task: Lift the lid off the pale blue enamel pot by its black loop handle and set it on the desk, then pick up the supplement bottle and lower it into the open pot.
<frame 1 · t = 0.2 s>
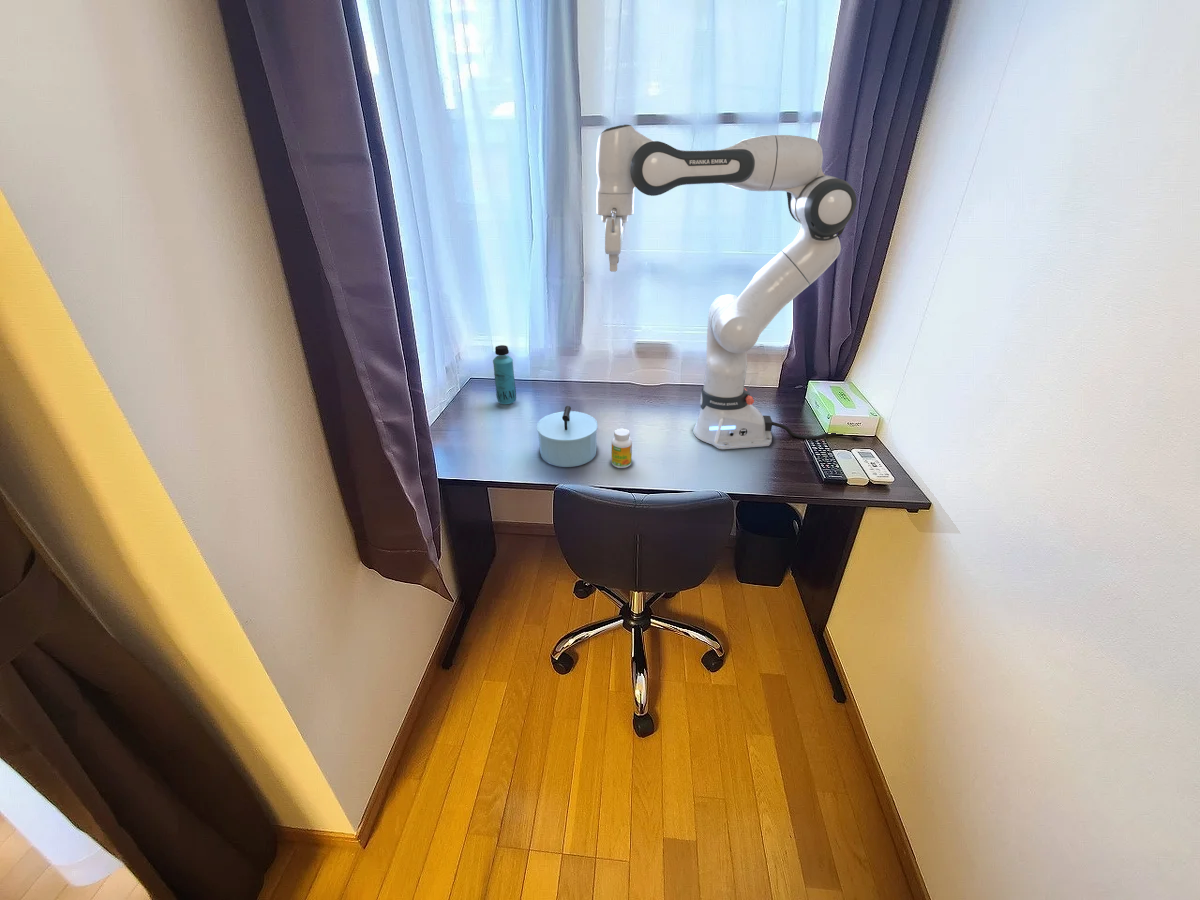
hand: (614, 267, 127), 47 cm above the table, tool pointing down, fingers open, 8 cm apart
lid: (567, 426, 137), point 8 cm above the table, touching pot
beverage bottle: (507, 404, 168), on the table
supplement bottle: (621, 463, 136), on the table
pot: (568, 451, 141), on the table
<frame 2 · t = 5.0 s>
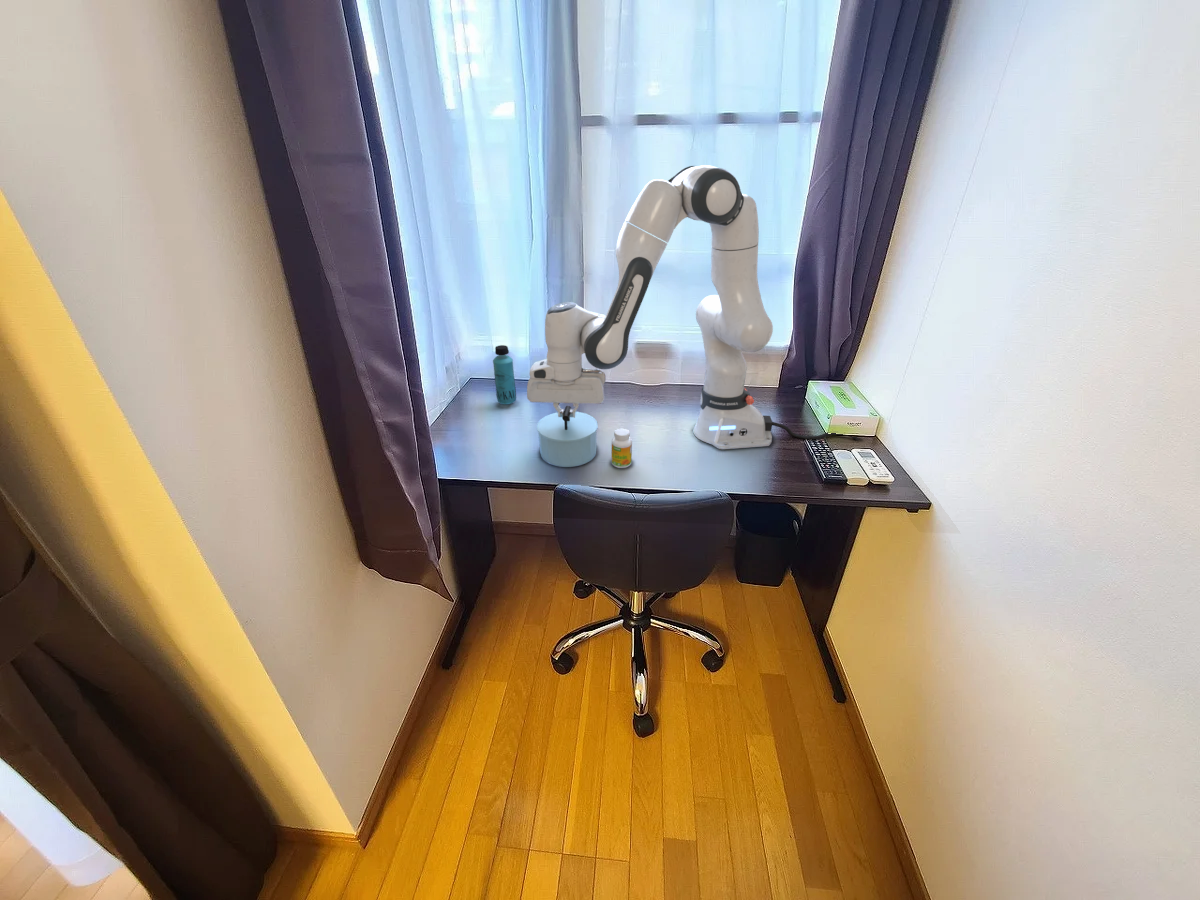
hand: (566, 416, 135), 11 cm above the table, tool pointing down, fingers closed on lid
lid: (567, 426, 137), point 8 cm above the table, touching gripper, pot
everything else where it was.
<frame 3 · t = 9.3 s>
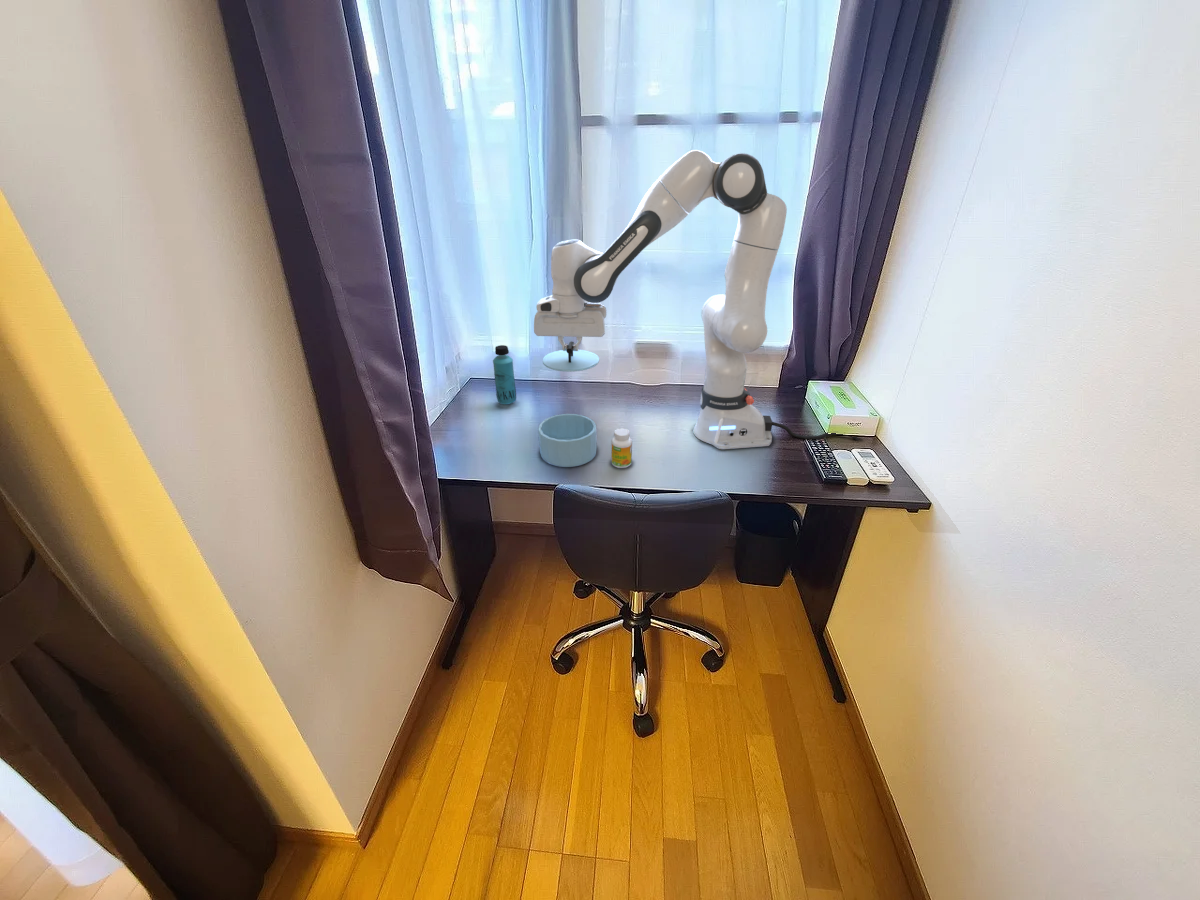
hand: (570, 350, 146), 22 cm above the table, tool pointing down, fingers closed on lid
lid: (571, 360, 148), point 19 cm above the table, touching gripper
everything else where it was.
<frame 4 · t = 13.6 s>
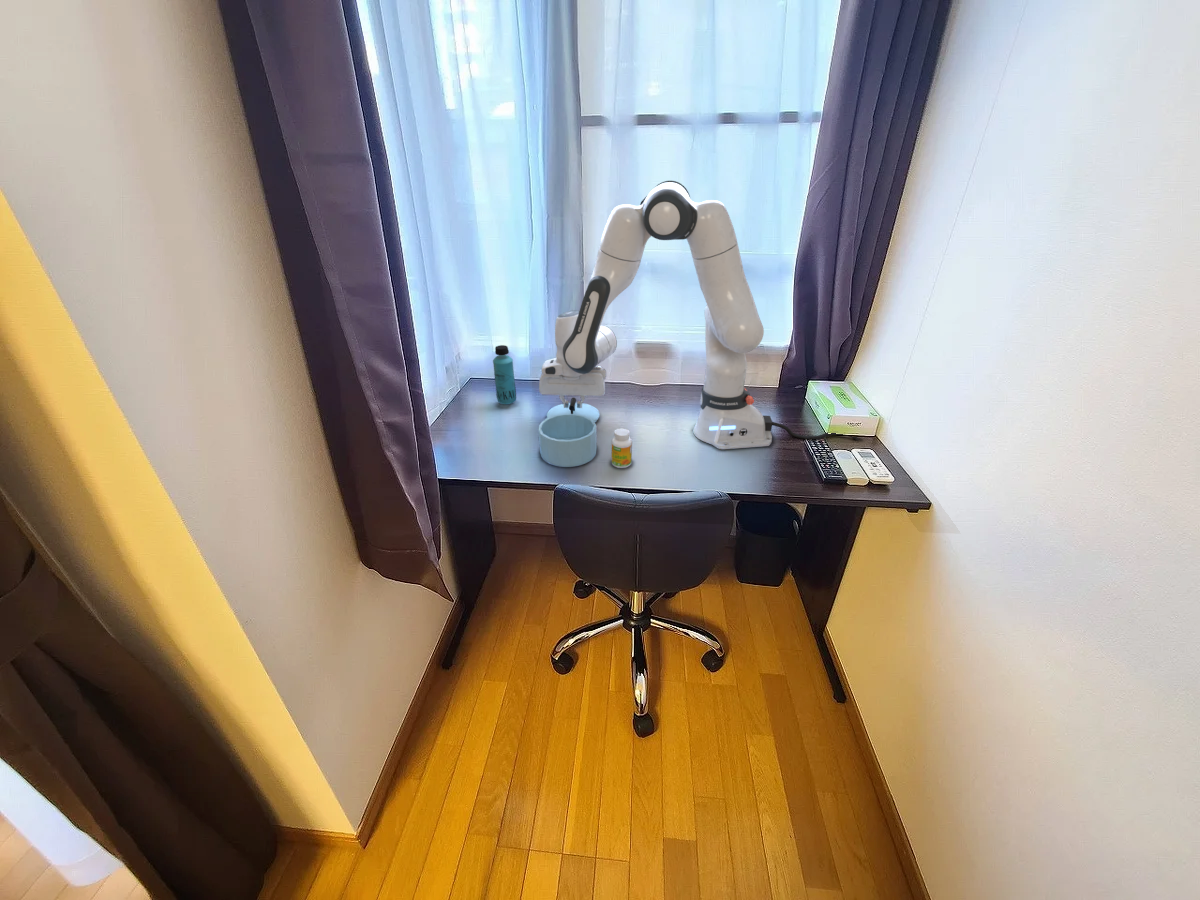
hand: (573, 407, 157), 3 cm above the table, tool pointing down, fingers open, 3 cm apart
lid: (573, 415, 159), point 1 cm above the table
everything else where it was.
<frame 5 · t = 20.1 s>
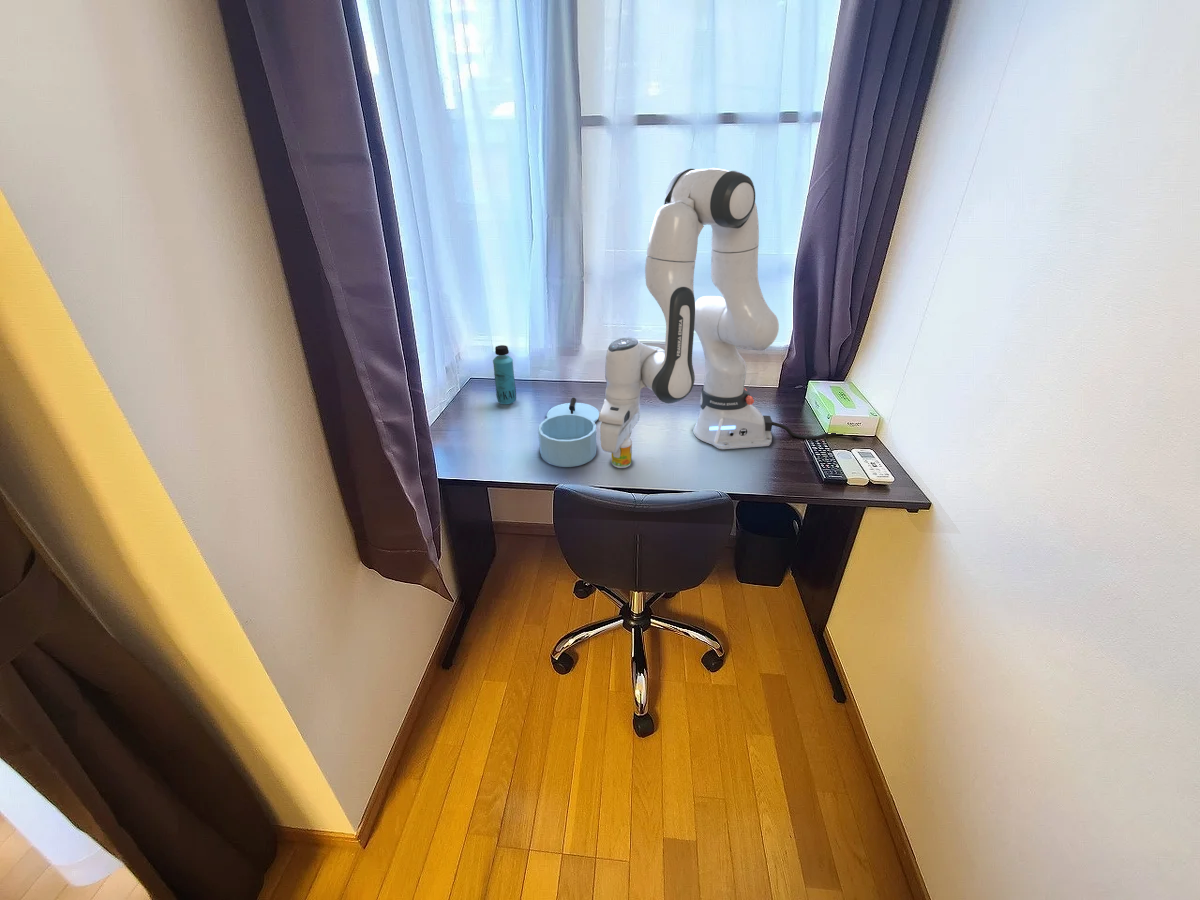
hand: (621, 450, 134), 4 cm above the table, tool pointing down, fingers closed on supplement bottle, 5 cm apart
supplement bottle: (621, 463, 136), on the table, touching gripper
everything else where it was.
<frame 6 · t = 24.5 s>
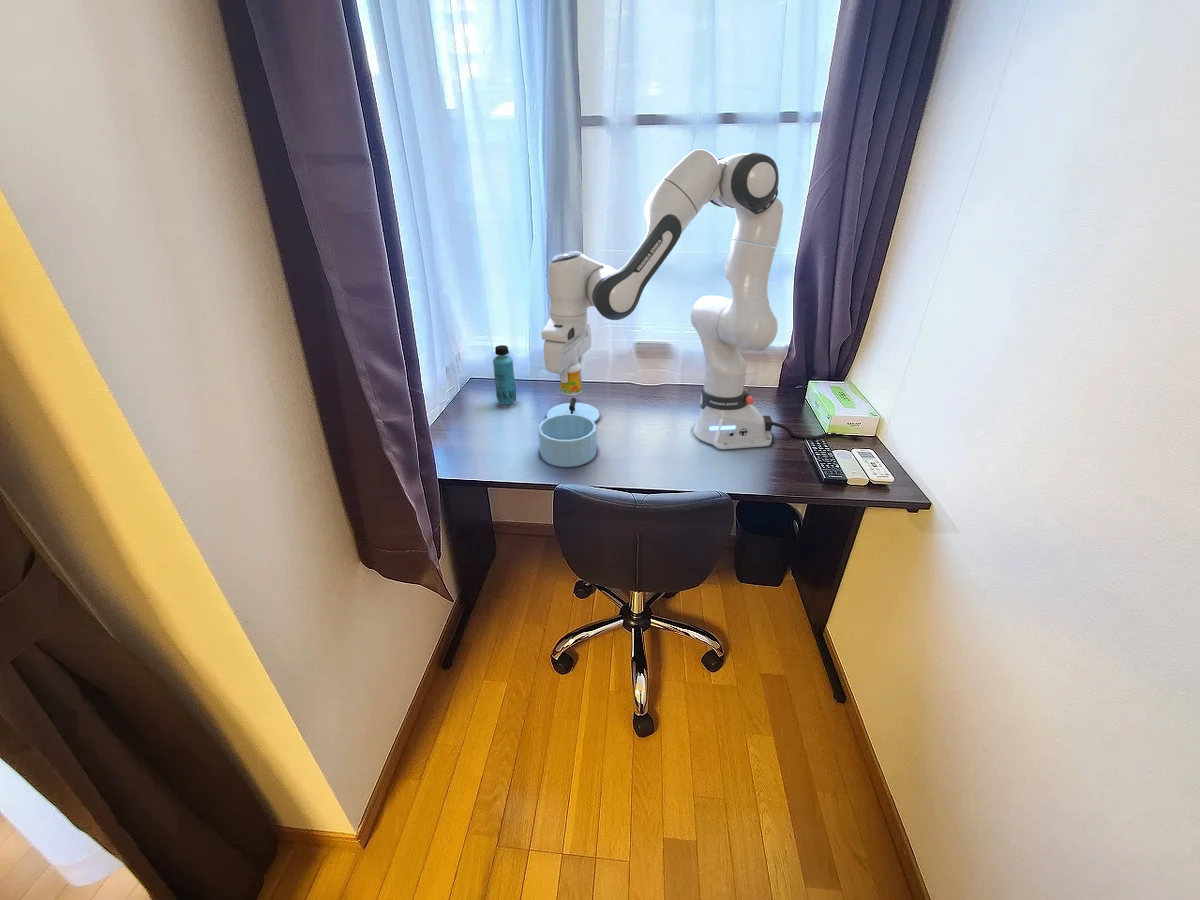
hand: (570, 376, 129), 23 cm above the table, tool pointing down, fingers closed on supplement bottle, 5 cm apart
supplement bottle: (571, 392, 131), point 19 cm above the table, touching gripper
everything else where it was.
when the fingers open (4 cm above the table, at t = 29.0 s): supplement bottle stays where it is, resting on pot.
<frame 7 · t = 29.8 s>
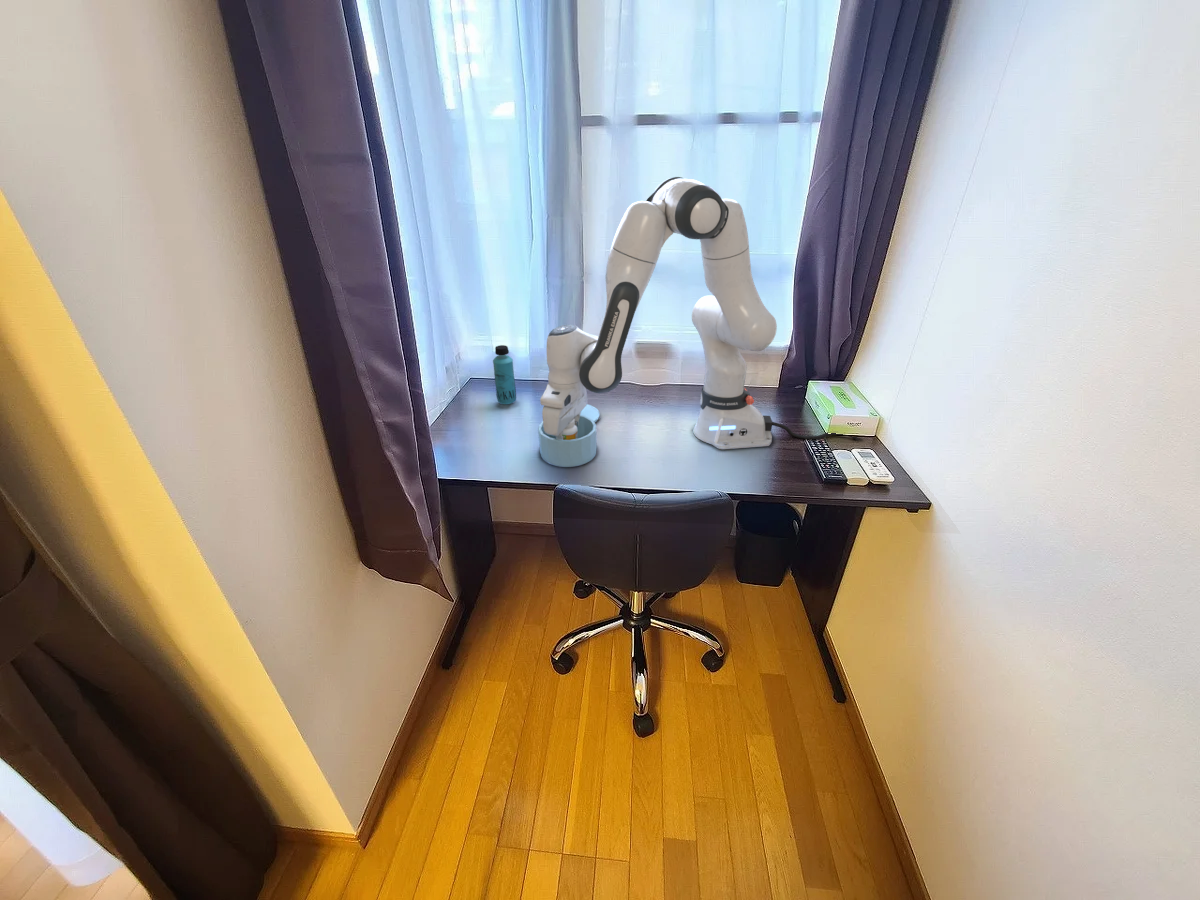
hand: (568, 434, 138), 6 cm above the table, tool pointing down, fingers open, 8 cm apart
supplement bottle: (568, 451, 141), resting on pot
everything else where it was.
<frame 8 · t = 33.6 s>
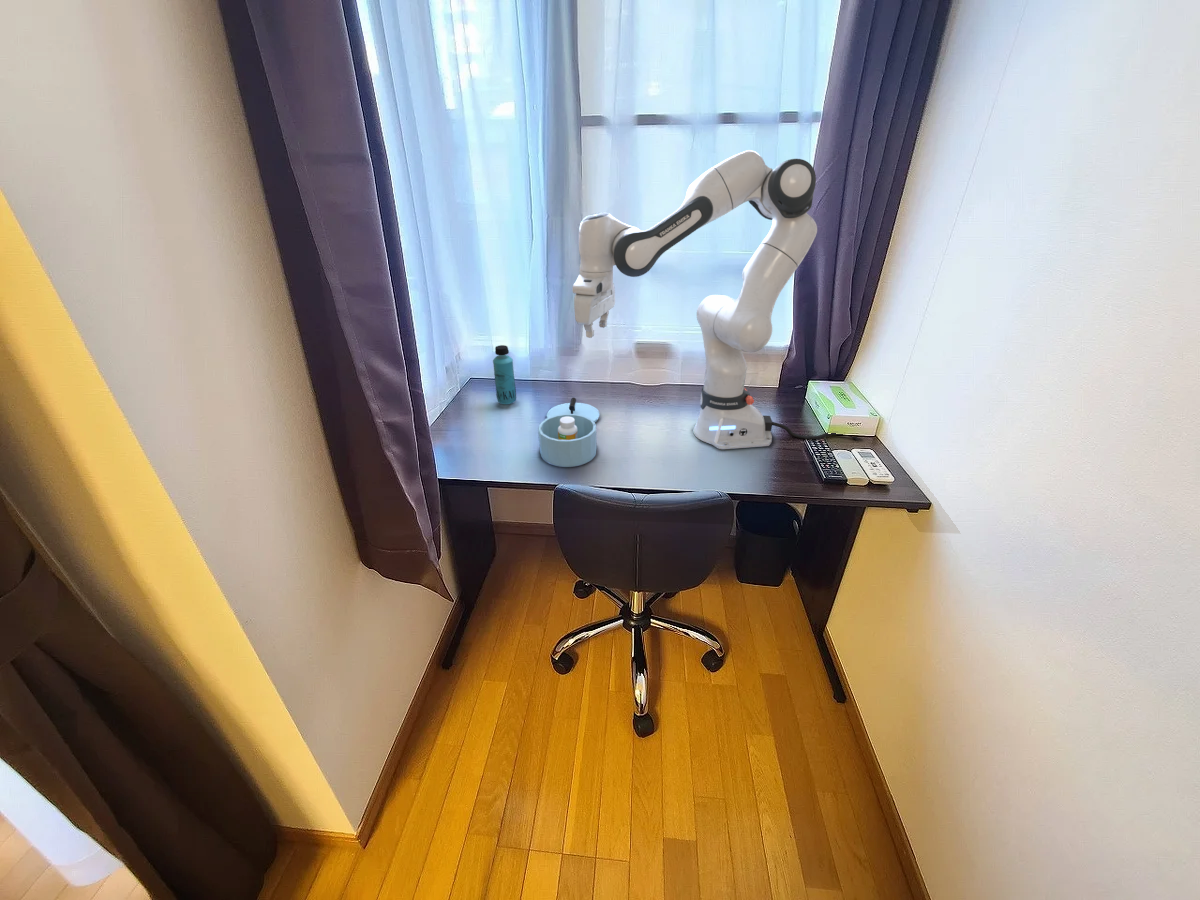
hand: (596, 331, 140), 29 cm above the table, tool pointing down, fingers open, 8 cm apart
nothing on the table moved.
at the end: lid inside the target area (0.1 cm from its centre), point 0.6 cm above the table; supplement bottle inside the target area in the pot (0.1 cm from its centre), point 0.3 cm above the pot's base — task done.
